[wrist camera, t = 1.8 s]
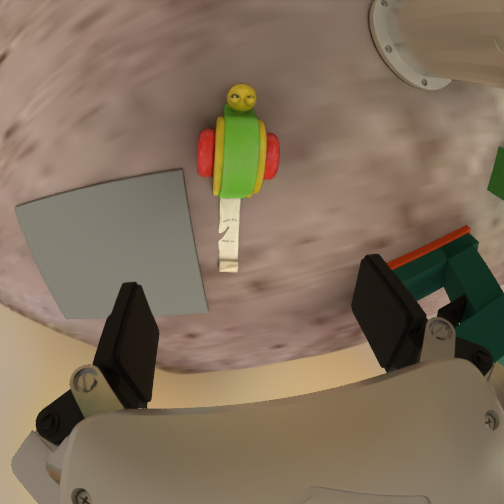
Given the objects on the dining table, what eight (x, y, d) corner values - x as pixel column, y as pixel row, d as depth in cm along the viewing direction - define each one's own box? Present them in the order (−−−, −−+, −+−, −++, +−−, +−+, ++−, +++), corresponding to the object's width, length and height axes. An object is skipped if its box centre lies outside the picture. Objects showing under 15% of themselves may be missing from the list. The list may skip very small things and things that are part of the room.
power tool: (290, 336, 39) (323, 463, 22) (276, 306, 35) (312, 455, 19) (461, 259, 36) (531, 341, 19) (466, 225, 32) (550, 308, 15)
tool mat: (16, 206, 23) (13, 208, 22) (182, 168, 24) (182, 170, 24) (67, 316, 33) (65, 319, 32) (208, 309, 34) (208, 312, 34)
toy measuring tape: (276, 88, 21) (295, 87, 16) (254, 267, 32) (262, 306, 26) (205, 83, 20) (199, 78, 15) (198, 265, 31) (195, 306, 25)
